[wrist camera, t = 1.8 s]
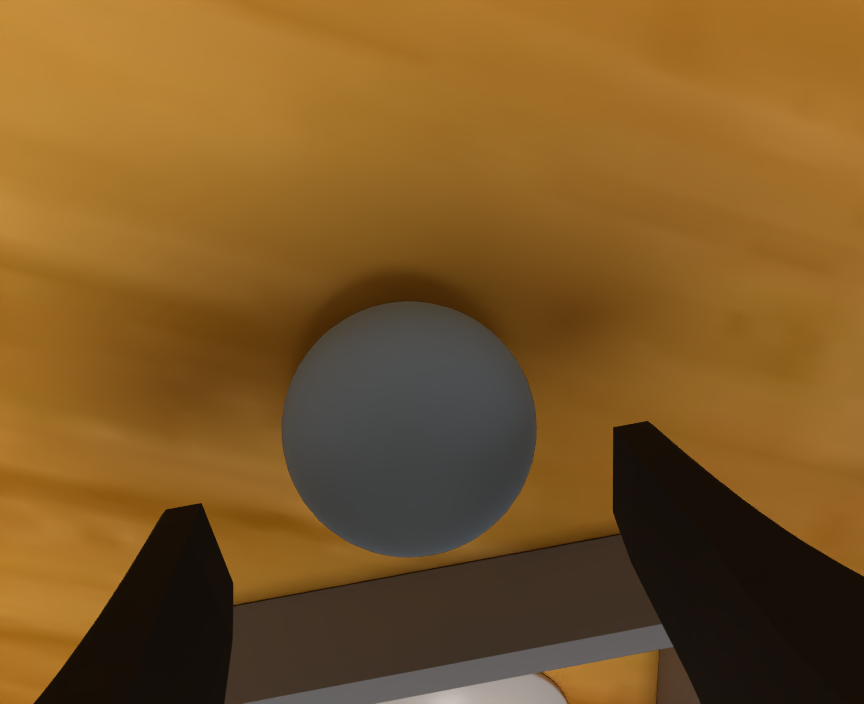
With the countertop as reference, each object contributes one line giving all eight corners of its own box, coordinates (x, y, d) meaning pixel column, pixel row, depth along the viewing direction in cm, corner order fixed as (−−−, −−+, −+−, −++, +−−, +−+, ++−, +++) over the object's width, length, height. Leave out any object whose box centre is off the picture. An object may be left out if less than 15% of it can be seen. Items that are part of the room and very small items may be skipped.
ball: (499, 239, 16) (562, 373, 12) (514, 425, 19) (570, 586, 15) (261, 280, 16) (243, 430, 12) (311, 461, 19) (310, 634, 15)
